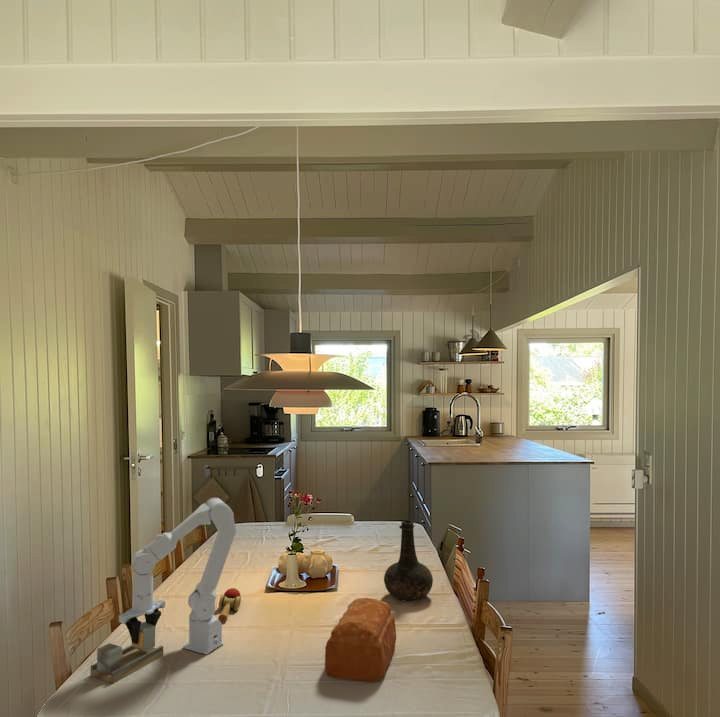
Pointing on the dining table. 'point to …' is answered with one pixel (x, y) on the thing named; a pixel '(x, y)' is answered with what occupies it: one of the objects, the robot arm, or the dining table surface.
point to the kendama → (229, 603)
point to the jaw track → (127, 660)
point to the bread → (361, 642)
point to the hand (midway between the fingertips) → (142, 639)
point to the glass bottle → (408, 570)
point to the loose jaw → (145, 637)
